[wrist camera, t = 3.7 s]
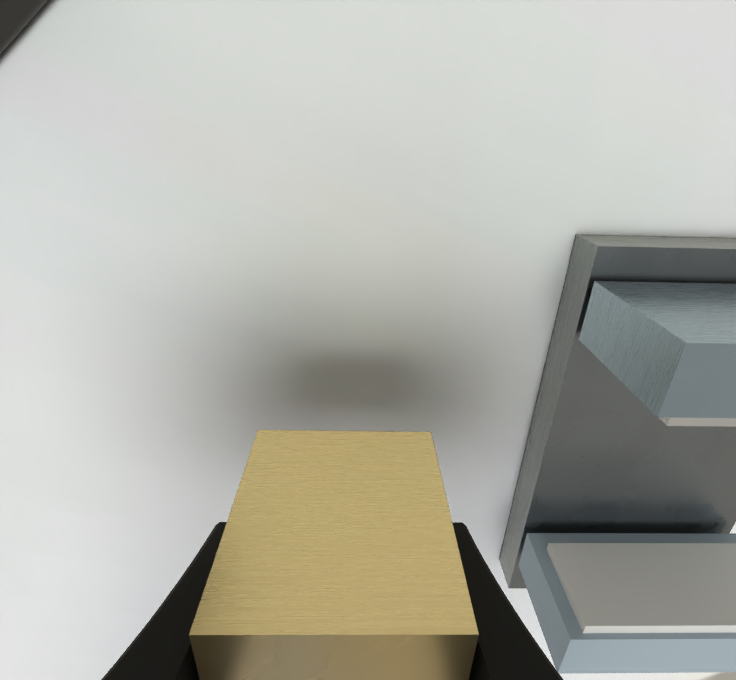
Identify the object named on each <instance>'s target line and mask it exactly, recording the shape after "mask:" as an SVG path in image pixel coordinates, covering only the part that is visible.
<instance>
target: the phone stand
mask: <svg viewBox="0 0 736 680" xmlns="http://www.w3.org/2000/svg"><path fill="white" fill-rule="evenodd" d="M47 1H48V0H0V54H1V53H2V52H3V51H4V50H5V49H6V47H7V46H8V45H9V44H10V43H11V42H12V41H13V40H14V38H15V37H16V36H17V35H18V34H19V33H20V32H21V30H22V29H23V28H24V27H25V26H26V25H27V24H28V23H29V21H30V20H31V19H32V18H33V17H34V16H35V15H36V13H37V12H38V11H39V10H40V9H41V8H42V7H43V6H44V4H45V3H46V2H47Z"/></svg>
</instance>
